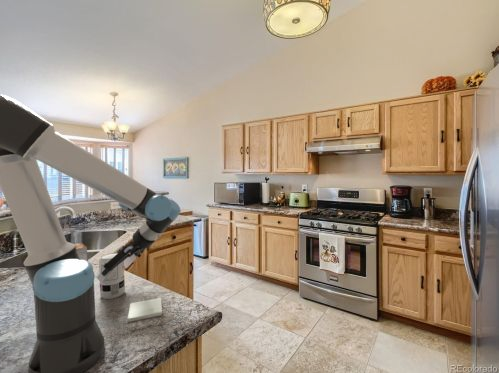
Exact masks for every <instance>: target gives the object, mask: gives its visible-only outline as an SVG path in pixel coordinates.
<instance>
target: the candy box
mask: <svg viewBox="0 0 499 373" xmlns="http://www.w3.org/2000/svg"><path fill="white" fill-rule="evenodd" d="M73 244H74V245H75V247H76V250H77V252H78V255H79V258H80V260H86V261H88V262H89V259H88V258H89V256H88V247H87V246H86V245H85V244H84V243H83V242H79V243H73Z"/></svg>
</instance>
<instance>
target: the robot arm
mask: <svg viewBox="0 0 499 373" xmlns="http://www.w3.org/2000/svg"><path fill="white" fill-rule="evenodd" d="M39 162H41V163H43V164H44V165H46V166H48V167H50V168H52V169H54V170H56V171H57V172H60V173H62V174H63V175H65V176H67V177H70V178H72V179H73V180H75V181H77V182H78V183H81V184H83V185H84V186H87V187H88V188H90V189H93V190H94V191H96V192H98V193H100V194H101V195H104V196H105V197H107V198H110V199H111V200H113V201H115V202H117V203H118V206H119V208H121V209H122V210H125V211H126V212H129V213H132V214H133V215H136V216H138V217H141V218H143V219H145V221H143V223H142V224H141V225H140V226H139V228H137V230H136V231H135V232H134V233H133V234H132V241H131V242H130V243H129V244H128V245H124V247H123V248H122V249H121V250H120V251H119V252H117V253H118V254H117V255H115V256H114V257H113V258H112V259H111V260H110V261H109V262H107V263H105V265H104V266H103V267H104V269H103V270H102V271H101V273H100V274H99V273H98V275H97V276H96V275H95V271H94V267H93V265H92V264H91V263H90V262H89V260H88V261H86V260H80V258H79V255H78V252H77V250H76V247H75V245H74V244H75V243H72V242H69V241H67V239H66V236H65V234H64V231H63V228H62V225H61V223H60V220H59V217H58V214H57V211H56V209H55V206H54V204H53V202H52V199H51V196H50V193H49V191H48V188H47V185H46V182H45V180H44V177H43V174H42V172H41V169H40V166H39V164H38V163H39ZM0 189H1V190H0V191H1V192H2V194H3V197H4V200H5V202H6V203H7V207H8V210H9V212H10V213H11V216H12V219H13V221H14V223H15V225H16V228H17V231H18V233H19V236H20V238H21V241H22V243H23V246H24V248H25V250H26V254H27V257H26V258H25V260H24V261H23V266H24V268H25V271H26V273H27V276H28V278H29V280H30V282H31V286H32V292H33V301H34V314H35V331H36V340H35V343H34V347H33V349H32V352H31V355H30V358H29V362H28V366H27V372H28V373H84V372H86V371H87V370H88V369H89V370H90V368H91V367H93V366H94V365H96V363H97V362H98V361H100V359H101V358H102V357H103V355H104V353H105V351H106V344H105V342H106V341H105V337H104V335H103V332H102V330H101V329H100V326H99V325H98V323H97V320H96V302H95V301H96V299H95V276H96V279H97V280H98V281H99V283H100V282H101V283H102V282H103V281H104V280H105V279H106V278H107V277H108V276H109V275H110V274H111V272H112V271H113V270H114V268H115V267H117V266H118V265H119V264H120V263H121V262H123V261H124V269H128V268H129V267H130V266H131V264H132V263H133V262H134V261H135V260H136V259H137V258H140V257H142V254H143V253H144V252H145V250H146V249H149V248H150V247H151V246H152V245H153V244H154V243H155V242H156V240H157V239H159V238H161V237H162V234H163V233H164V232H165V231H166V230H167V229H168V228H169V226H170V225H171V224H172V223H173V222H175V221H176V219H177V218H178V217H179V215H180V214H181V211H182V210H181V207H180V205H179V204H178V203H177V202H176V201H175V200H173V199H171V198H169V197H167V196H165V195H163V194H160V193H159V194H158V193H157V192H155V191H154V190H152V189H151V188H148V187H146V185H144V184H142V183H140V182H138V181H137V180H135V179H134V178H132V177H130V176H129V175H127V174H126V173H124V172H123V171H120V170H119V169H117V168H116V167H114V166H112V165H111V164H109V163H108V162H106V161H104V160H103V159H101V158H99V157H98V156H96V155H95V154H94V153H91V152H89V151H88V150H86V149H85V148H83V147H81V146H80V145H78V144H77V143H75V142H74V141H72V140H70V139H69V138H67V137H66V136H63V135H62V134H61V133H59V132H57V131H56V130H55V126H54V124H52V123H51V122H49V121H48V120H46V119H44V118H43V117H42V116H40V115H39V114H37V113H36V112H34V111H33V110H32V109H31V108H28V107H27V106H25V105H24V104H22V102H20V101H18V100H16V99H15V98H12V97H10V96H7V95H5V94H0Z"/></svg>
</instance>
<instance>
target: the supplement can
mask: <svg viewBox="0 0 499 373" xmlns="http://www.w3.org/2000/svg"><path fill="white" fill-rule="evenodd" d="M118 253H119V252H113V253H111V252H110V253H107V254H103V255H101V256H100V258H99V260H98V271H99V272H98V275H99V274H100V273H101V271H102V270H103V269H104V267H103V266H104V265H105V263H107V262H109V261H110V260H111V259H112V258H113V257H114V256H115V255H117V254H118ZM124 261H125V260H124ZM124 261H123V262H121V263H120V264H119V265H118V266H117V267H115V268H114V270H113V271H112V272H111V274H110V275H109V276H108V277H107V278H106V279H105V280H104V281H103V282H102V283H101V282H100V281H99V292H100V293H99V295H100V298H102V299H103V300H111V299H116V298H118V297H120V296H122V295H124V293H125V291H126V289H125V288H126V287H125V286H126V285H125V284H126V283H125V266H124Z"/></svg>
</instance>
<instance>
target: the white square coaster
mask: <svg viewBox="0 0 499 373" xmlns="http://www.w3.org/2000/svg"><path fill="white" fill-rule="evenodd" d="M162 303H163V302H162V297H159V298H158V297H157V298H152V299H146V300H142V301H137V302H130V304H129V309H128V315H127V322H134V321H140V320H145V319H149V318H150V319H151V318H154V317H159V316H162V315H163V307H162V306H163V304H162Z"/></svg>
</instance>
